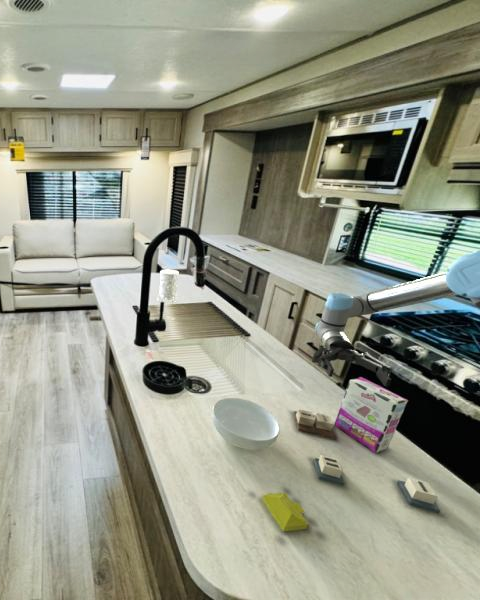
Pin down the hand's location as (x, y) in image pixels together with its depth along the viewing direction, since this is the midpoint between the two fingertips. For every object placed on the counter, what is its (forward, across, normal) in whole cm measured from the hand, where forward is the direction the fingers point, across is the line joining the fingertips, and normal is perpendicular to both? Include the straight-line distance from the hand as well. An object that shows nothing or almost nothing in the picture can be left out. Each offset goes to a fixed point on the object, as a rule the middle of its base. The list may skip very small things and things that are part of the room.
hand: (359, 378), depth 93 cm
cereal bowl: (+23, +31, -13) cm, 41 cm away
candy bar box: (+11, 0, -13) cm, 17 cm away
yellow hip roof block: (+44, +23, -13) cm, 51 cm away
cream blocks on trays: (+28, +3, -13) cm, 31 cm away
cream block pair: (+11, +11, -13) cm, 20 cm away
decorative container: (-80, +68, -14) cm, 106 cm away
